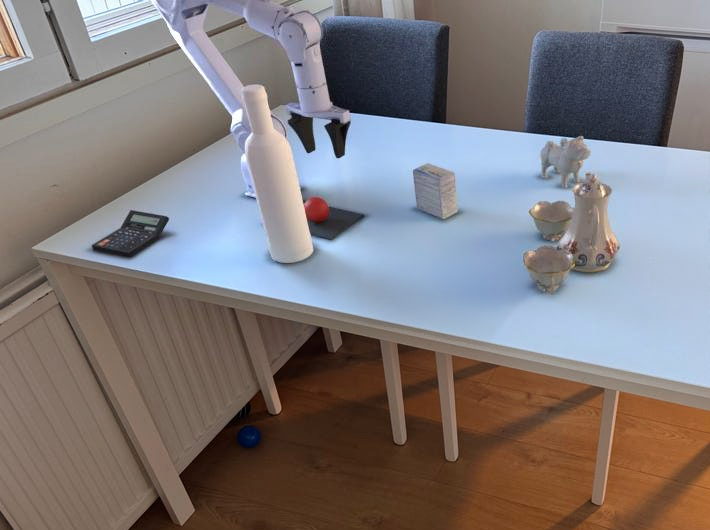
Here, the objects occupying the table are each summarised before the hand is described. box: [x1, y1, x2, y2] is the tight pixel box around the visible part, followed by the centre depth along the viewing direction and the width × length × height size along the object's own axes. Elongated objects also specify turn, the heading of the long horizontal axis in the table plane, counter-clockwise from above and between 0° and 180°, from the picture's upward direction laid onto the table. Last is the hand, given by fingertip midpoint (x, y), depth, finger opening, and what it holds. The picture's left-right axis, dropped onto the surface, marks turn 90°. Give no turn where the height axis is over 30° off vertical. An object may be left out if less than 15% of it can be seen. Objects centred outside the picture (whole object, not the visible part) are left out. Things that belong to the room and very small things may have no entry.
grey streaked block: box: [412, 162, 459, 220], centre depth 133 cm, size 8×4×9 cm, turn 47°
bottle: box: [241, 84, 314, 264], centre depth 115 cm, size 8×8×30 cm
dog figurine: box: [539, 135, 592, 189], centre depth 142 cm, size 5×13×11 cm, turn 38°
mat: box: [302, 199, 365, 241], centre depth 135 cm, size 16×11×1 cm
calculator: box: [91, 209, 170, 258], centre depth 131 cm, size 9×12×3 cm
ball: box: [304, 196, 330, 223], centre depth 132 cm, size 5×5×5 cm
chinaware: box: [523, 172, 621, 296], centre depth 114 cm, size 28×17×17 cm, turn 178°
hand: (325, 154), depth 135 cm, fingers open, 7 cm apart
